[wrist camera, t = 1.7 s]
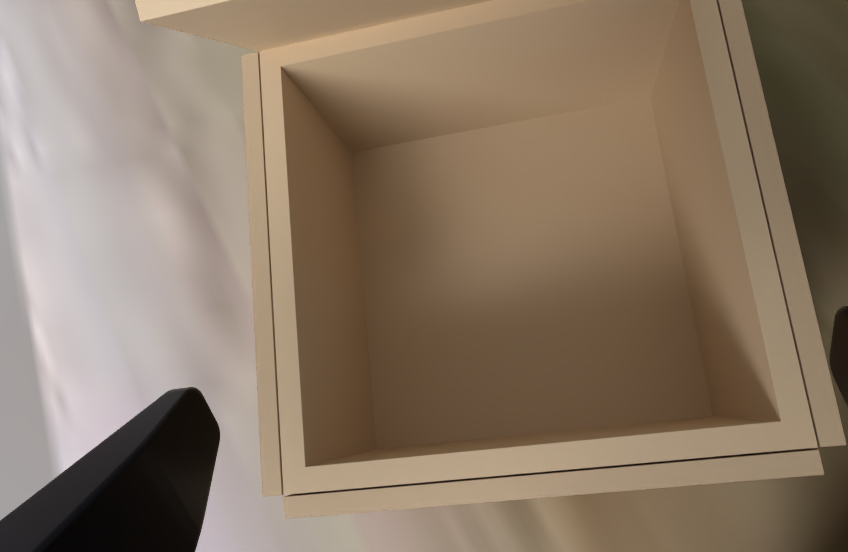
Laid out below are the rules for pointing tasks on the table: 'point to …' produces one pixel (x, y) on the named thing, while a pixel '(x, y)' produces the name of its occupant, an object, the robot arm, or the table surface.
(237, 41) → the carton flap
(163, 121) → the table surface
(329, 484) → the carton
